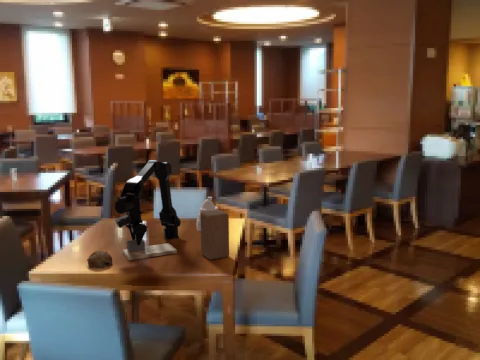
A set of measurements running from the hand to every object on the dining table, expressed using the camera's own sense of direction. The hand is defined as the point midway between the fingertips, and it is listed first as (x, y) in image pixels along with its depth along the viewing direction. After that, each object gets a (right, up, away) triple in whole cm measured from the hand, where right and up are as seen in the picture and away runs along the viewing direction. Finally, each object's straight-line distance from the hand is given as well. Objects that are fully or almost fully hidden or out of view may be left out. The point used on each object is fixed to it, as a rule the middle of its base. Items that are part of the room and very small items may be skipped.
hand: (136, 242), depth 216 cm
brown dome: (-13, -8, -11) cm, 19 cm away
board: (+5, -5, +4) cm, 8 cm away
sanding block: (0, -4, +1) cm, 4 cm away
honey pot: (+30, +1, +44) cm, 53 cm away
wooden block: (+36, -6, -1) cm, 36 cm away
